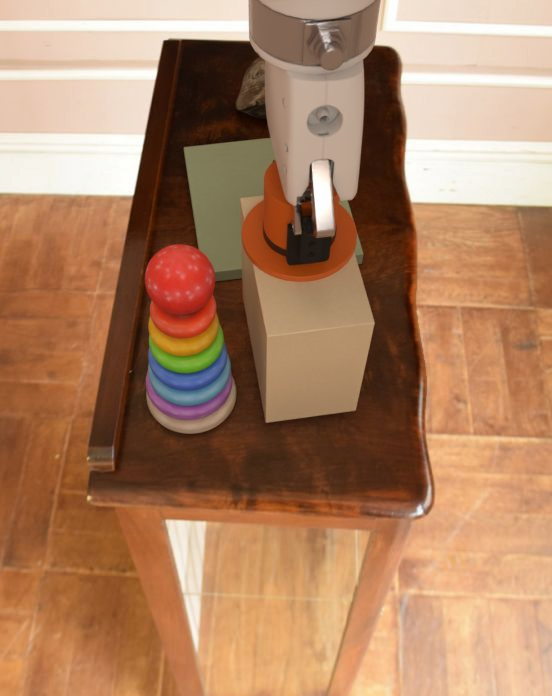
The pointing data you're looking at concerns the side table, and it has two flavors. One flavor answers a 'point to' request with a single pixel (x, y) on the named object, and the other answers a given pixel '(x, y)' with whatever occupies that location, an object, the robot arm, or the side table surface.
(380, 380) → the side table surface
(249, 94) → the fossilized seashell
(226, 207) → the stand board
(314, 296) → the tall cardboard box
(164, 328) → the stacking toy
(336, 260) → the hat
